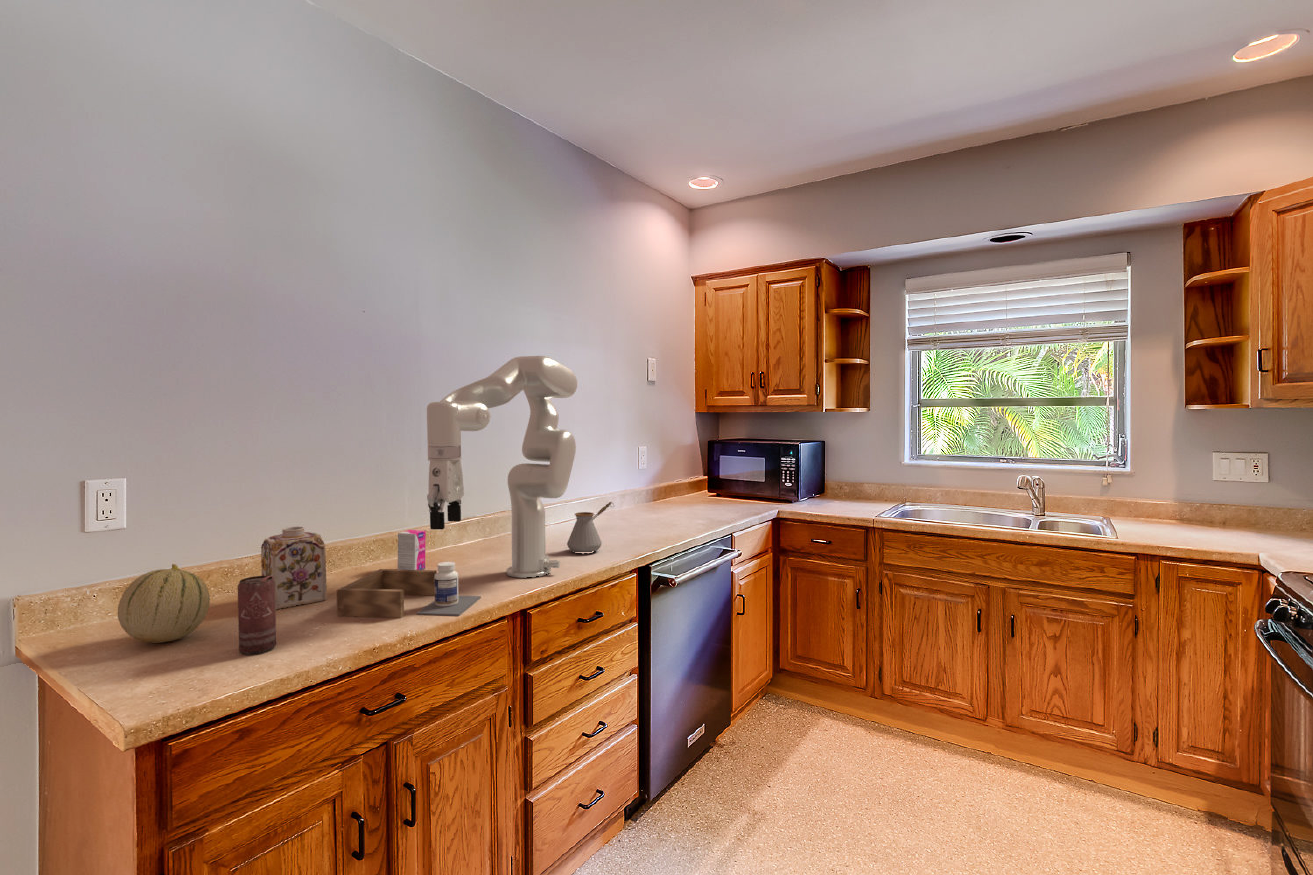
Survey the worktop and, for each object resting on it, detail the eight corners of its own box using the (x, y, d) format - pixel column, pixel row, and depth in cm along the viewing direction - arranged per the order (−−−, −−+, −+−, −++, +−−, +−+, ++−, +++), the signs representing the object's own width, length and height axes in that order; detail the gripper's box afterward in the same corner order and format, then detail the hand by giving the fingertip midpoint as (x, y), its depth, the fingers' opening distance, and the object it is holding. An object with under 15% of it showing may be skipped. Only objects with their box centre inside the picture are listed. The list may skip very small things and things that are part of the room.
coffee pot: (587, 557, 201) (587, 510, 201) (559, 552, 207) (559, 507, 207) (625, 545, 219) (625, 502, 219) (599, 541, 225) (599, 500, 225)
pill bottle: (438, 600, 153) (437, 561, 153) (460, 600, 154) (460, 560, 153) (432, 607, 148) (431, 566, 147) (455, 606, 148) (455, 566, 148)
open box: (436, 593, 160) (436, 570, 160) (400, 617, 142) (400, 591, 141) (380, 592, 162) (380, 569, 161) (337, 615, 143) (336, 589, 143)
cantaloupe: (105, 659, 118) (103, 579, 117) (134, 633, 131) (131, 562, 131) (200, 647, 124) (198, 572, 123) (218, 624, 137) (216, 556, 136)
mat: (481, 597, 157) (481, 596, 157) (459, 615, 143) (459, 614, 143) (442, 596, 158) (442, 595, 158) (416, 614, 144) (416, 612, 144)
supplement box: (415, 573, 181) (414, 533, 180) (396, 572, 182) (396, 532, 182) (426, 568, 187) (426, 530, 186) (408, 567, 188) (408, 529, 187)
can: (284, 645, 125) (283, 575, 124) (254, 657, 119) (253, 584, 118) (262, 641, 127) (260, 573, 126) (231, 653, 121) (229, 581, 120)
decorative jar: (313, 590, 163) (312, 521, 162) (328, 600, 155) (326, 528, 154) (260, 600, 155) (258, 527, 154) (272, 611, 146) (271, 534, 146)
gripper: (444, 456, 140) (446, 532, 141) (473, 451, 157) (474, 518, 158) (412, 456, 141) (414, 532, 142) (444, 450, 158) (445, 518, 159)
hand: (446, 525), depth 150 cm, fingers open, 9 cm apart
